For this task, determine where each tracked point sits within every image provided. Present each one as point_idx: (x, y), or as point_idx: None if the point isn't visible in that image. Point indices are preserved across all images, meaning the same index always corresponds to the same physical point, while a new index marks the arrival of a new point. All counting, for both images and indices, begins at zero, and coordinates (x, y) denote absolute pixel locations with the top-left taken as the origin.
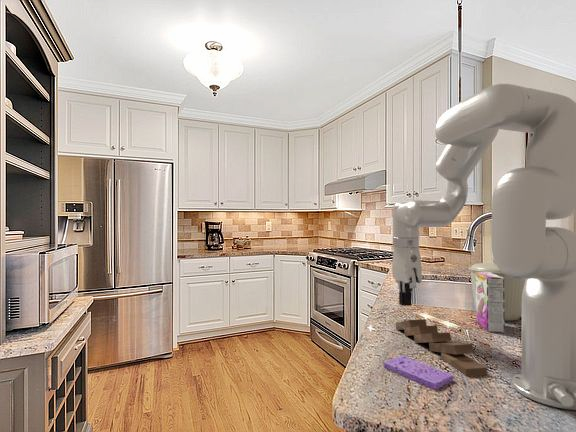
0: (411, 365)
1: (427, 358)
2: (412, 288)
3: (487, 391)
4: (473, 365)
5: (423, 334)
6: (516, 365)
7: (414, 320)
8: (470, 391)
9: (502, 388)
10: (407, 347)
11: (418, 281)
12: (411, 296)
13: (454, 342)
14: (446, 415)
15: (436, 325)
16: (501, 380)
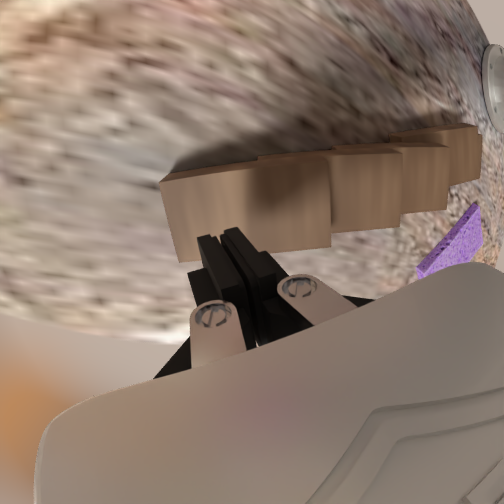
0: (449, 263)
1: (419, 212)
2: (368, 302)
3: (492, 170)
4: None
5: (405, 212)
6: (449, 40)
7: (330, 220)
8: (488, 194)
9: (491, 143)
10: (363, 242)
11: (435, 282)
12: (257, 254)
13: (439, 137)
14: (495, 244)
15: (402, 153)
16: (482, 124)
